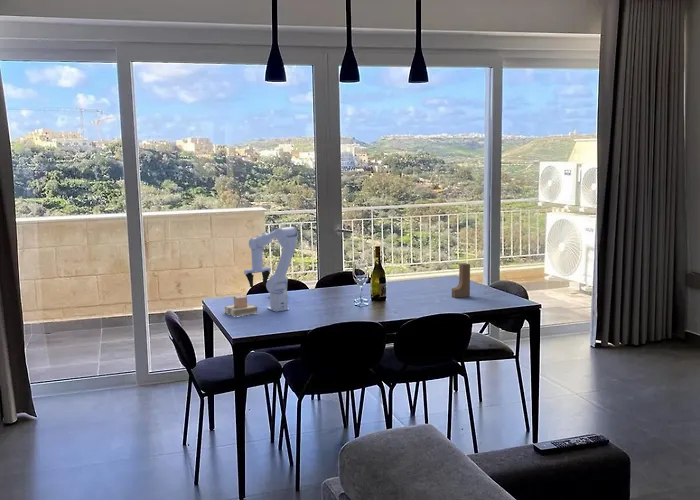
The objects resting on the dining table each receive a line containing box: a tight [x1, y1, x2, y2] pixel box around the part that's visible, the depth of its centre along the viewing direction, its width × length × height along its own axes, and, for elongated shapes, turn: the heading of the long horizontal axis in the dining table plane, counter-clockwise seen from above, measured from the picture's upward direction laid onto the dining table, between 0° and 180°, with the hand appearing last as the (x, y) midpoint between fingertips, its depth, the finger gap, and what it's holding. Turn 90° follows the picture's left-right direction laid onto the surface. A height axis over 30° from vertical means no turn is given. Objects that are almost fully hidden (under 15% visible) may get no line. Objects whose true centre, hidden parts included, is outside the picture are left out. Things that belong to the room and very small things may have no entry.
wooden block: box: [451, 262, 471, 299], centre depth 366 cm, size 9×4×18 cm, turn 108°
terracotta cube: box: [233, 294, 248, 308], centre depth 336 cm, size 5×5×5 cm
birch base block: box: [224, 302, 258, 318], centre depth 337 cm, size 12×12×4 cm
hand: (258, 286), depth 354 cm, fingers open, 7 cm apart
